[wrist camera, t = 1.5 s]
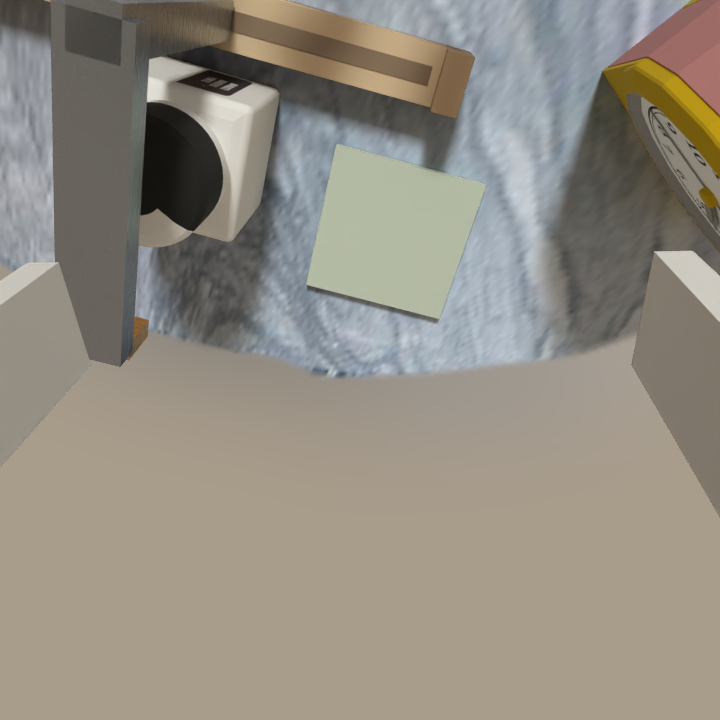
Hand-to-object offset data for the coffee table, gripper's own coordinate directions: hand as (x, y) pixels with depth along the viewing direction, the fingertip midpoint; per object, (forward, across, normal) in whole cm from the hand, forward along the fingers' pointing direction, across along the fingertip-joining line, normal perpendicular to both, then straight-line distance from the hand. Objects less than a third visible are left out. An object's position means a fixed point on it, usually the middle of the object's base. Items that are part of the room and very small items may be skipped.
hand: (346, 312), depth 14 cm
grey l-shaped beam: (+26, -12, -1) cm, 28 cm away
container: (+29, -12, -1) cm, 31 cm away
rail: (+29, -11, +6) cm, 31 cm away
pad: (+29, 0, -8) cm, 30 cm away
